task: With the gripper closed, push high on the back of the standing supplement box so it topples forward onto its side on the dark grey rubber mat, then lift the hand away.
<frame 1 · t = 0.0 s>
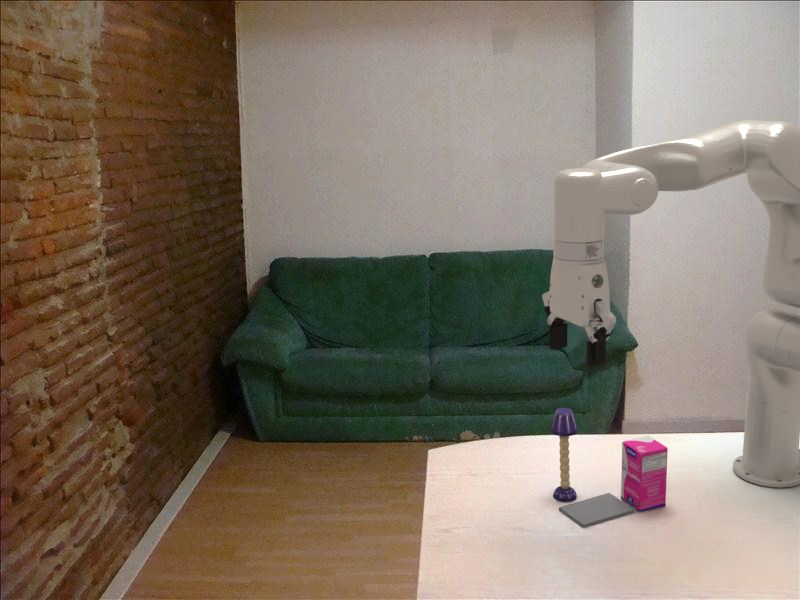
hand: (576, 356, 138), 31 cm above the table, fingers open, 9 cm apart
supplement box: (642, 503, 155), on the table
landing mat: (596, 511, 153), on the table
toy lamp: (563, 497, 159), on the table
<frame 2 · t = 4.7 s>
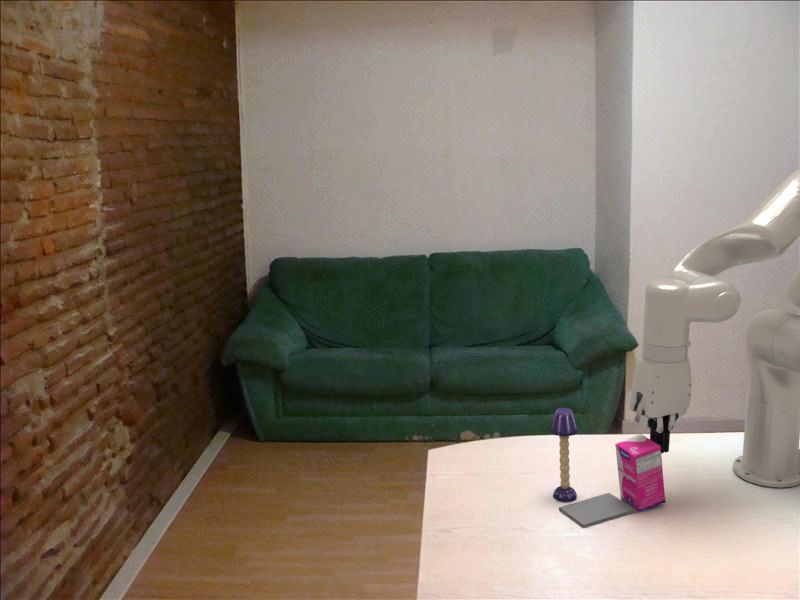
hand: (658, 449, 154), 9 cm above the table, fingers closed
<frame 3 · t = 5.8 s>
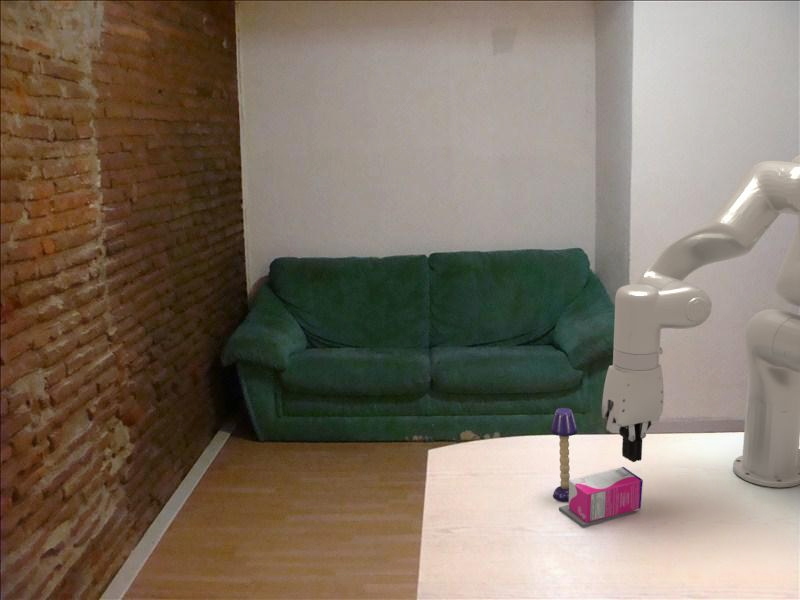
hand: (631, 458, 152), 9 cm above the table, fingers closed
supplement box: (633, 487, 154), point 3 cm above the table, touching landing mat
everything else where it was.
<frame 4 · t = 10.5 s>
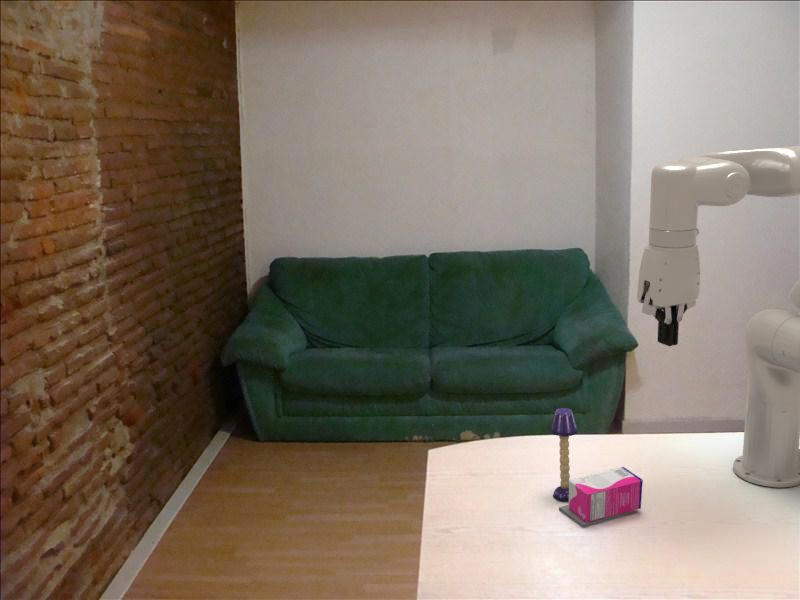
hand: (667, 343, 149), 29 cm above the table, fingers closed
nothing on the table moved.
at the end: supplement box tilted 89°; supplement box inside the target area (1.9 cm from its centre), point 3.4 cm above the table; toy lamp moved 0.2 cm from its start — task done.
